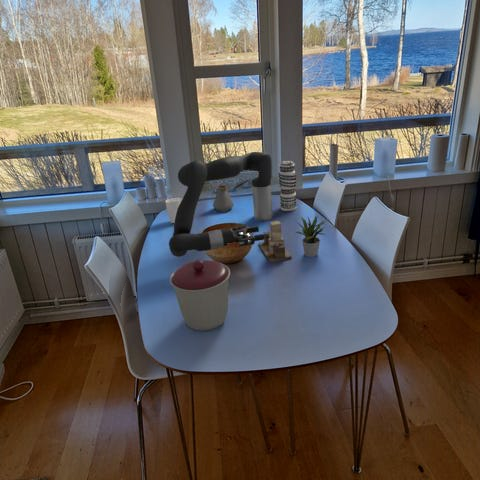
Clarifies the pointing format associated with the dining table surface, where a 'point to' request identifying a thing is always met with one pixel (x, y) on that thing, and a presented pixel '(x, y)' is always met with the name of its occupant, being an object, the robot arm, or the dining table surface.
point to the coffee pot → (224, 198)
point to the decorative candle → (287, 186)
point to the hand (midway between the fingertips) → (261, 232)
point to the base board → (279, 250)
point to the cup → (173, 207)
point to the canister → (202, 293)
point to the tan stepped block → (275, 235)
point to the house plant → (311, 236)
